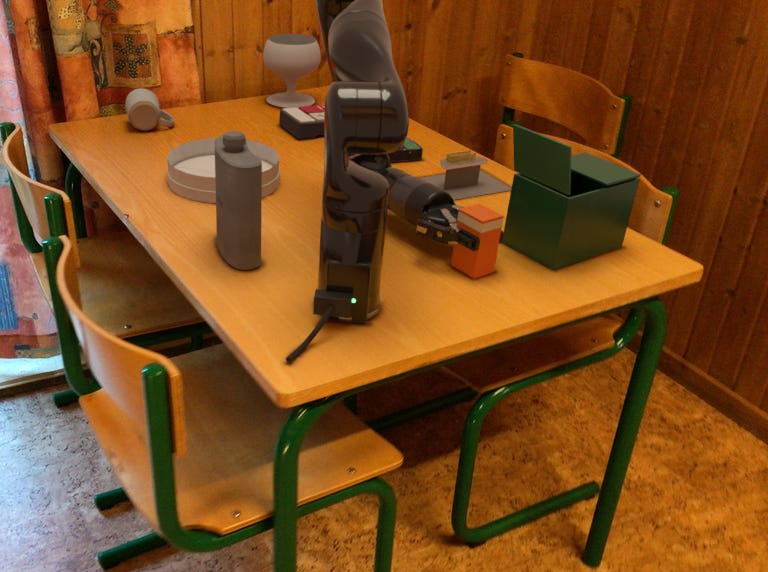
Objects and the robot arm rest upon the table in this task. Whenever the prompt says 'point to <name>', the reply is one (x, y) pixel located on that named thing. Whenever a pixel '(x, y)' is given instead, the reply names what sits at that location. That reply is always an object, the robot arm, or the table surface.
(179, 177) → the dish
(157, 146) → the table surface
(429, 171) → the table surface
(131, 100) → the ceramic mug
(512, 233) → the green flap box
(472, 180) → the platform
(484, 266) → the block
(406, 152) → the disk drive
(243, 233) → the flask
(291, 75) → the chalice
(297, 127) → the dark box with panels
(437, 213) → the robot arm
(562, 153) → the green box lid flap
